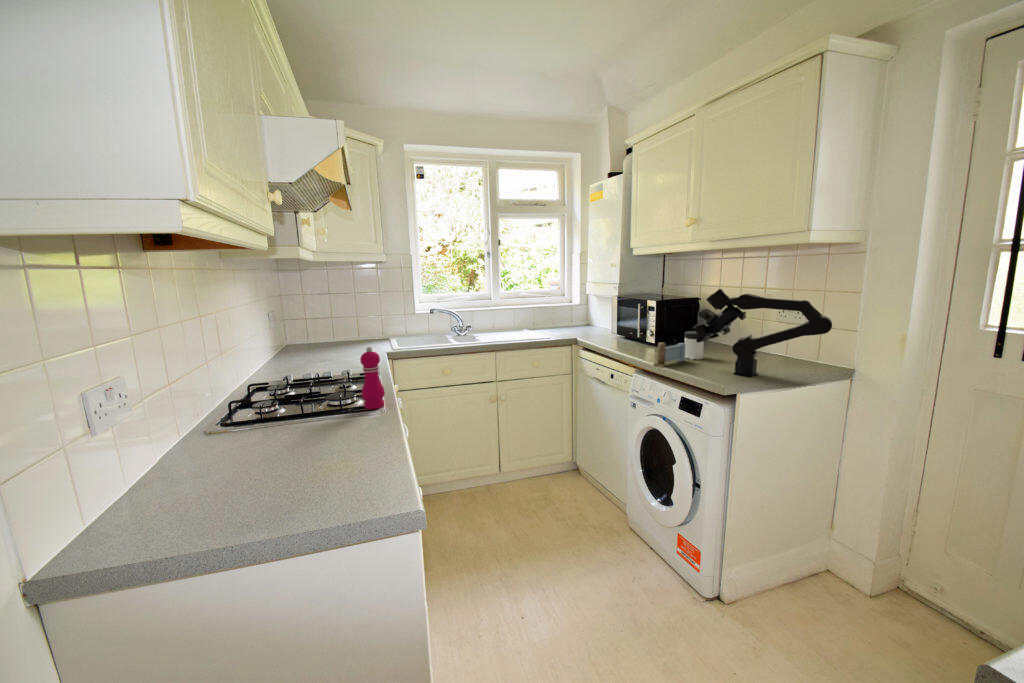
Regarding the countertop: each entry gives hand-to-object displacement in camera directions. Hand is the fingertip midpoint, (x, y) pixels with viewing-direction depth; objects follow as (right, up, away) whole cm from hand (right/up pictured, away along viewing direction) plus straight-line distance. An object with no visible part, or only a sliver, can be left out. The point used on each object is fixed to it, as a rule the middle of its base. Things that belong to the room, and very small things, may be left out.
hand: (697, 341), depth 175 cm
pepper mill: (-124, -22, -39) cm, 132 cm away
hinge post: (-14, -10, +5) cm, 18 cm away
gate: (-7, -9, +10) cm, 15 cm away
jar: (+6, -8, +18) cm, 21 cm away
